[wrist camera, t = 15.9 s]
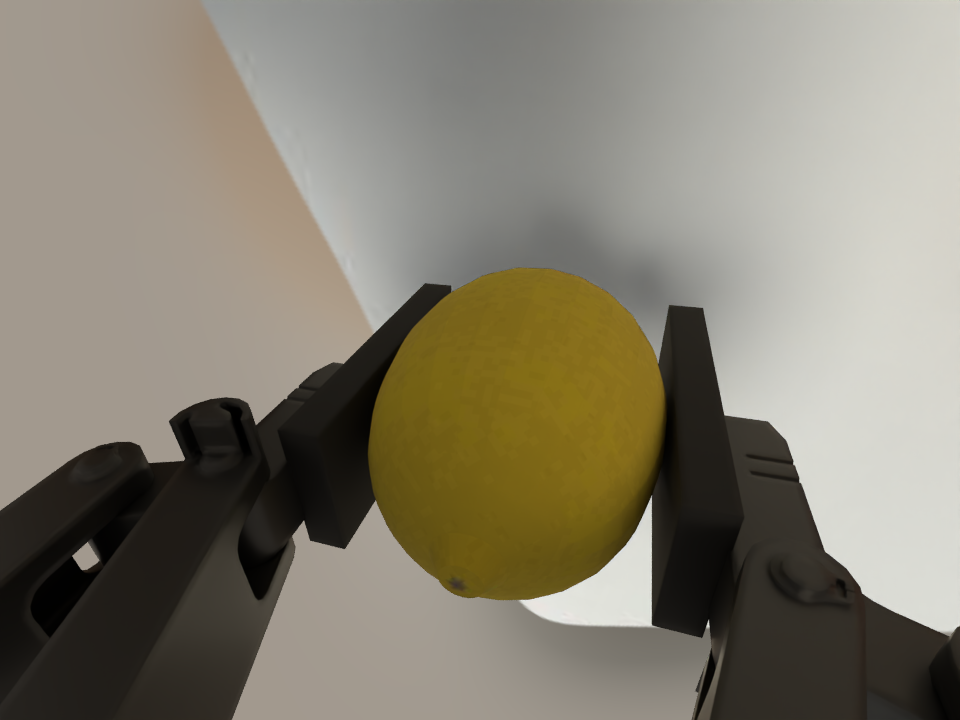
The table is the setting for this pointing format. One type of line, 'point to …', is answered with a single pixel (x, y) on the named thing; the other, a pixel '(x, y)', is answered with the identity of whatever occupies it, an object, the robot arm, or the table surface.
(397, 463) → the lemon
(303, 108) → the table surface
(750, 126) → the table surface
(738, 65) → the table surface
